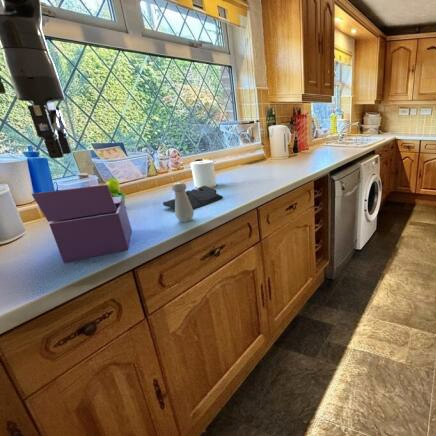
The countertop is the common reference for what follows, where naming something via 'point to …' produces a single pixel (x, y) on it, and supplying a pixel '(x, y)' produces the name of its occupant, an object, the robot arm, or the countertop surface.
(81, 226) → the carton
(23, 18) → the robot arm
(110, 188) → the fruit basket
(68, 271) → the countertop surface
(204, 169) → the toilet paper
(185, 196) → the salt shaker
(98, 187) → the flap
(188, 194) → the dark slate chunk
